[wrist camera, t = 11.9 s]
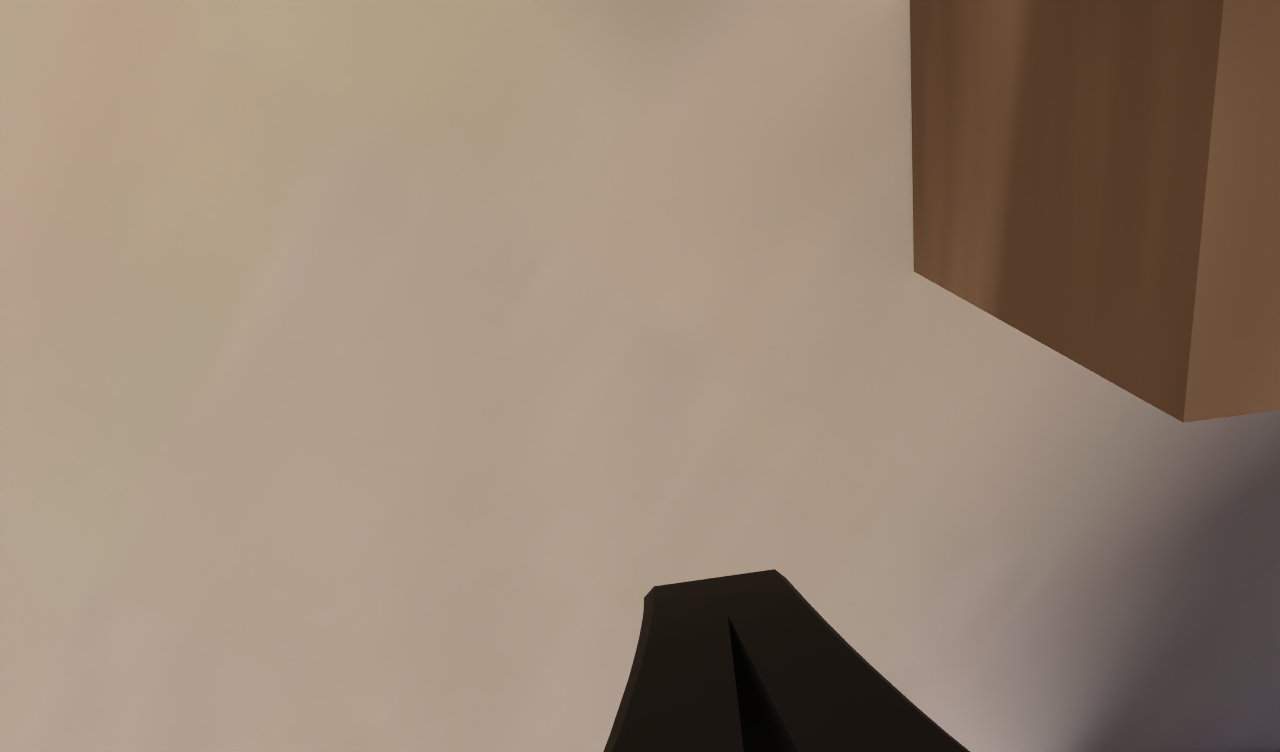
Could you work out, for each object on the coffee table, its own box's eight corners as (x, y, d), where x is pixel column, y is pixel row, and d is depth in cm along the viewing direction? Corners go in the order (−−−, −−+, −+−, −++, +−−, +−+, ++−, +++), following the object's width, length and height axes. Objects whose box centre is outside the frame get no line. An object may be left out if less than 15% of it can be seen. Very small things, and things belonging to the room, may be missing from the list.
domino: (998, -16, 15) (1410, -120, 8) (994, 260, 17) (1329, 402, 9) (909, -4, 15) (1232, -98, 7) (914, 271, 17) (1183, 422, 9)
